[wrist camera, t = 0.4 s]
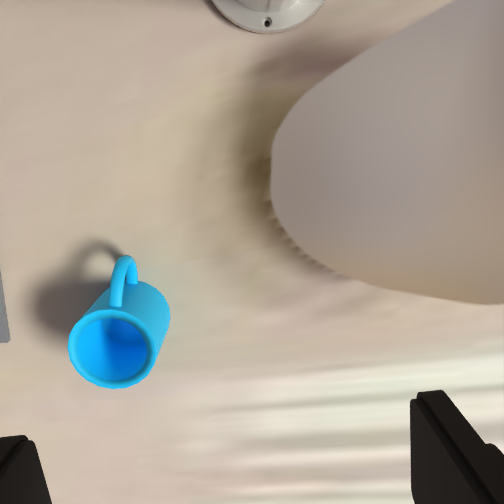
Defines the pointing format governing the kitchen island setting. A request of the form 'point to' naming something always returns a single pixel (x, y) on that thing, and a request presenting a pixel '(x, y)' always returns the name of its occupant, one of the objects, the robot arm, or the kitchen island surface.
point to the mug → (120, 331)
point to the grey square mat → (3, 318)
